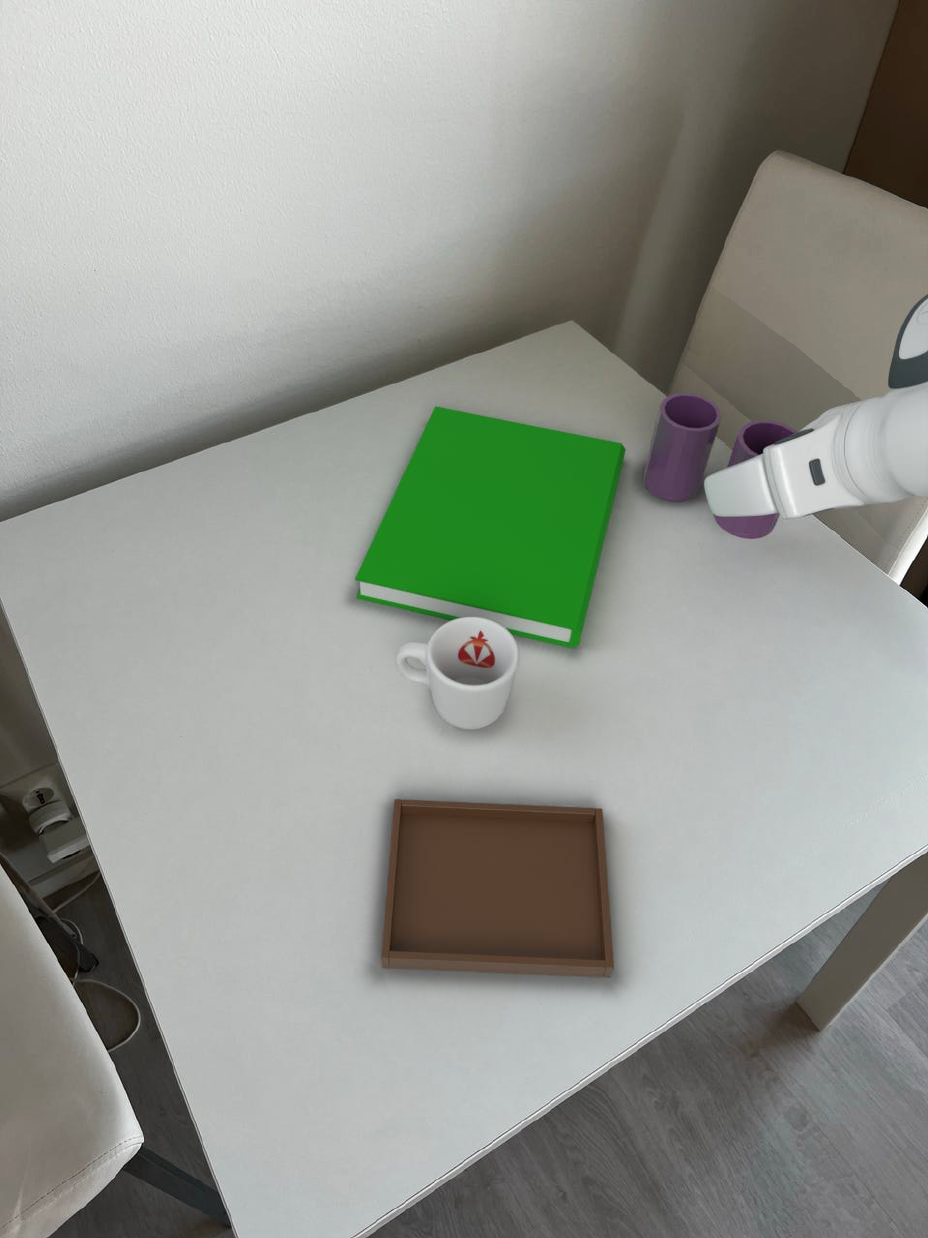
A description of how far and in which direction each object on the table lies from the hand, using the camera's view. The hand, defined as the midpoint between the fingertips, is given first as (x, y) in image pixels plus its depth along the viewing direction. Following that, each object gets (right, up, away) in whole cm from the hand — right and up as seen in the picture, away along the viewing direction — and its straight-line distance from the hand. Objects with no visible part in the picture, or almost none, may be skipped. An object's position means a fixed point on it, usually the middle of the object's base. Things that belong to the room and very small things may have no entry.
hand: (754, 472), depth 94 cm
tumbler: (-5, +1, +13) cm, 14 cm away
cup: (-30, -22, -7) cm, 38 cm away
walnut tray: (-26, -36, -19) cm, 48 cm away
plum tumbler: (0, -4, +4) cm, 6 cm away
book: (-25, -5, +8) cm, 27 cm away
